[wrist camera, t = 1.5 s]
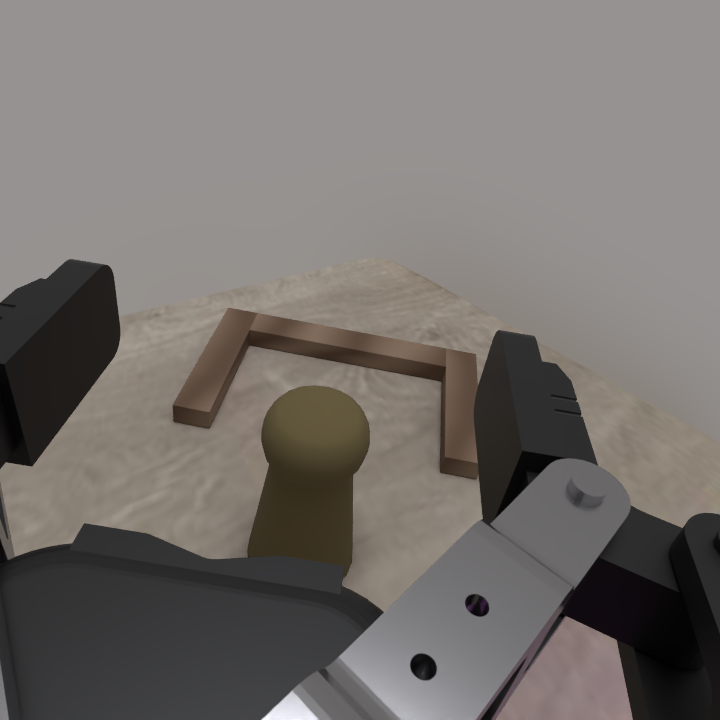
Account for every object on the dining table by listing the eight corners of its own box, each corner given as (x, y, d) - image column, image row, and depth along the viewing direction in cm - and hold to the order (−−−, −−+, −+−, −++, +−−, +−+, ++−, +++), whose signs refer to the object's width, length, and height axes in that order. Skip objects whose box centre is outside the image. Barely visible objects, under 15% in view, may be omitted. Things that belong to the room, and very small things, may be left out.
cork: (233, 523, 35) (236, 380, 28) (327, 495, 38) (350, 358, 31) (268, 614, 31) (280, 471, 24) (370, 576, 34) (407, 438, 27)
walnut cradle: (173, 421, 41) (172, 405, 40) (228, 322, 51) (228, 307, 50) (476, 478, 41) (481, 464, 40) (471, 368, 51) (475, 354, 50)
